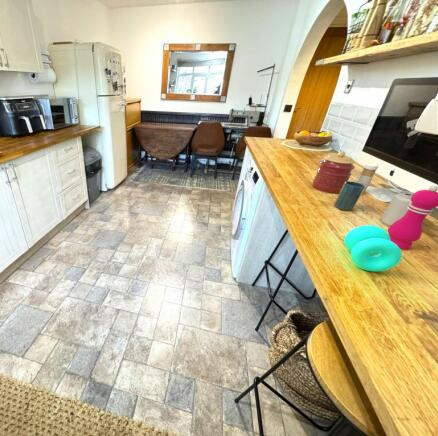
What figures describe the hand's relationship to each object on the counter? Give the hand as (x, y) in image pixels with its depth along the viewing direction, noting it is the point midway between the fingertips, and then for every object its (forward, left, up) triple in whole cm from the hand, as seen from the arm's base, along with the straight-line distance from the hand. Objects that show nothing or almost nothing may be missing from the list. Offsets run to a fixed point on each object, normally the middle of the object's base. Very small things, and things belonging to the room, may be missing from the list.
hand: (423, 151), depth 80 cm
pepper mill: (+16, +17, -25) cm, 34 cm away
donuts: (+34, +23, -25) cm, 48 cm away
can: (+4, +6, -25) cm, 26 cm away
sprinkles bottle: (-9, -21, -25) cm, 33 cm away
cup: (+12, -8, -24) cm, 28 cm away
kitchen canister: (+2, -27, -25) cm, 36 cm away
